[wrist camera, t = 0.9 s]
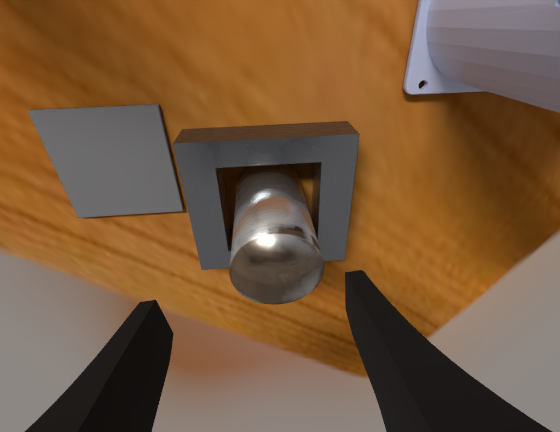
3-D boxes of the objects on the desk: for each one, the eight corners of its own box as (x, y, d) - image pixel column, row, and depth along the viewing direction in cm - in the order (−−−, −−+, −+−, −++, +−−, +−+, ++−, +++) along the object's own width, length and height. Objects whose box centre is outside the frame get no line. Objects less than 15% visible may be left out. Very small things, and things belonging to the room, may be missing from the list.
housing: (347, 121, 18) (359, 134, 16) (336, 238, 23) (344, 259, 21) (182, 129, 18) (172, 143, 16) (206, 247, 23) (201, 269, 21)
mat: (158, 104, 17) (157, 105, 17) (183, 208, 21) (183, 211, 21) (31, 109, 17) (27, 111, 16) (80, 215, 21) (78, 217, 20)
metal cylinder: (301, 158, 20) (326, 230, 13) (300, 215, 22) (321, 300, 15) (233, 162, 19) (223, 237, 13) (240, 219, 22) (234, 307, 15)
